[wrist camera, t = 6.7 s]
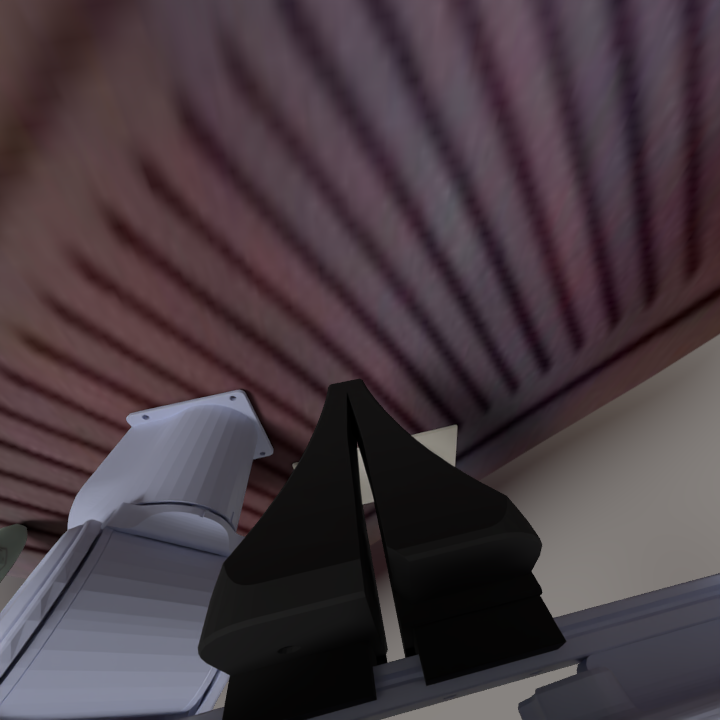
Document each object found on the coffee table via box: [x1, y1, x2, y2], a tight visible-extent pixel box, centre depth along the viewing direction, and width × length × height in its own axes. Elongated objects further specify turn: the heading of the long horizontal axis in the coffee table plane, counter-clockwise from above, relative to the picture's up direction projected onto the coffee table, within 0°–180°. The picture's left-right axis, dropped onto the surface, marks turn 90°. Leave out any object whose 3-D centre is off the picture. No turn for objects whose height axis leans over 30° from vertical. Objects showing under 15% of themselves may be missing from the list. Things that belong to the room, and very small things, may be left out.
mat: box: [292, 425, 458, 504], centre depth 30 cm, size 18×10×1 cm, turn 99°
